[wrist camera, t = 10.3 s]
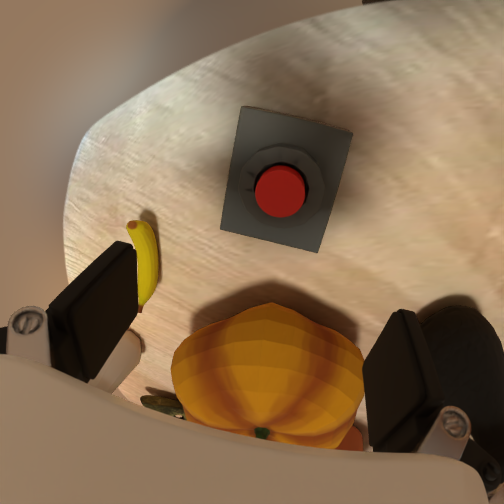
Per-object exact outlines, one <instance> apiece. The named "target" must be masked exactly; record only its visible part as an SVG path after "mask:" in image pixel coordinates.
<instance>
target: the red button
mask: <svg viewBox="0 0 504 504" xmlns="http://www.w3.org/2000/svg"><path fill="white" fill-rule="evenodd" d="M255 197H256V201H257V203H258V205H259V206H260V208H261V209H262V210H263V211H264V212H266V213H267V214H269V215H271V216H274V217H288V216H291V215H293V214H294V213H296V212H297V211H298V210H299V209H300V208H301V206H302V205H303V202H304V199H305V184H304V181H303V178H302V177H301V175H300V174H299V173H298V172H297V171H296V170H295V169H293V168H291V167H288V166H284V165H278V166H273V167H271V168H269V169H267V170H266V171H265V172H264V173H263V174H262V176H261V177H260V179H259V181H258V183H257V185H256V189H255Z"/></svg>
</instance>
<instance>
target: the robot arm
mask: <svg viewBox="0 0 504 504" xmlns="http://www.w3.org/2000/svg"><path fill="white" fill-rule="evenodd" d="M138 309H139V305H138V284H137V252H136V250H135V249H133V246H132V245H131V244H129V243H125V242H121V241H116V242H114V243H113V244H112V245H111V246H110V247H109V248H108V249H106V250H105V251H104V252H103V253H102V254H101V255H100V256H99V257H98V258H97V259H96V260H94V261H93V262H92V263H91V264H90V265H89V266H88V267H87V268H86V269H85V270H84V271H83V272H82V273H81V274H80V275H79V276H77V277H76V278H75V279H74V280H73V281H72V282H71V283H70V284H69V285H68V286H67V287H66V288H65V289H64V290H63V291H62V292H61V293H60V294H59V295H58V296H57V297H56V299H54V301H52V302H51V303H50V304H49V308H48V309H47V310H46V311H44V310H43V309H41V308H40V307H36V306H26V307H23V308H21V309H19V310H17V311H16V312H14V313H13V314H12V316H11V317H10V319H9V322H8V326H7V327H3V328H0V504H504V482H503V483H502V484H500V482H501V478H502V471H501V467H500V465H499V463H498V462H497V461H496V460H495V459H494V458H493V457H492V456H491V455H490V454H488V453H487V452H486V451H485V450H484V449H483V448H481V447H480V446H479V445H478V444H477V443H476V442H474V441H473V440H472V439H471V438H470V434H471V423H470V420H469V418H468V416H467V415H466V413H465V412H463V411H462V410H461V409H459V408H458V407H455V406H447V407H445V408H444V404H443V402H444V401H445V397H444V394H443V390H442V387H441V384H440V381H439V377H438V374H437V371H436V368H435V365H434V362H433V359H432V356H431V354H430V351H429V348H428V345H427V342H426V340H425V337H424V334H423V332H422V329H421V327H420V324H419V321H418V319H417V316H416V314H415V312H413V311H409V310H404V309H399V310H398V311H397V312H393V313H392V315H391V316H390V318H389V320H388V322H387V324H386V325H385V327H384V329H383V331H382V332H381V334H380V336H379V338H378V339H377V341H376V343H375V344H374V346H373V348H372V349H371V351H370V353H369V354H368V356H367V357H366V359H365V361H364V363H363V366H362V374H363V383H364V391H365V401H366V411H367V422H368V434H369V444H370V446H372V447H373V452H364V451H347V450H335V449H325V448H316V447H308V446H300V445H293V444H287V443H281V442H275V441H269V440H264V439H259V438H254V437H249V436H244V435H239V434H235V433H231V432H227V431H222V430H218V429H215V428H211V427H207V426H203V425H200V424H196V423H193V422H189V421H186V420H183V419H179V418H176V417H173V416H170V415H167V414H164V413H161V412H158V411H155V410H152V409H149V408H146V407H144V406H141V405H138V404H135V403H133V402H130V401H128V400H125V399H123V398H120V397H118V396H115V395H112V394H110V393H108V392H106V391H103V390H101V389H98V388H96V387H94V386H91V385H89V384H88V382H89V381H90V379H92V380H93V379H95V378H96V377H97V375H98V373H99V372H100V370H101V369H102V367H103V366H104V364H105V362H106V361H107V359H108V358H109V356H110V355H111V353H112V352H113V350H114V349H115V347H116V346H117V344H118V343H119V341H120V340H121V338H122V337H123V335H124V334H125V332H126V331H127V329H128V328H129V326H130V325H131V323H132V322H133V320H134V319H135V317H136V316H137V313H138Z"/></svg>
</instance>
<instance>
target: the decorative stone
mask: <svg viewBox="0 0 504 504" xmlns="http://www.w3.org/2000/svg"><path fill="white" fill-rule="evenodd" d="M140 400H141V403H142V404H143V406H144V407H146V408H149V409H152V410H155V411H158V412H161V413H164V414H167V415H170V416H173V417H176V416H175V415H182V417H180V418H179V419H183V420H186V421H187V419H186V416H185V412H184V409H183V405H182V404H181V402H180V401H176V400H172V399H169V398H164V397H159V396H152V395H145V396H142V397H141V398H140ZM176 418H178V417H176Z"/></svg>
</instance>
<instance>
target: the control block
mask: <svg viewBox="0 0 504 504" xmlns="http://www.w3.org/2000/svg"><path fill="white" fill-rule="evenodd" d="M352 136H353V133H352V132H350V131H349V130H346V129H342V128H339V127H335V126H332V125H328V124H325V123H321V122H317V121H313V120H309V119H305V118H301V117H297V116H293V115H288V114H284V113H279V112H275V111H270V110H265V109H260V108H255V107H249V106H242V107H241V110H240V115H239V121H238V126H237V131H236V137H235V142H234V148H233V153H232V159H231V165H230V170H229V176H228V182H227V188H226V194H225V200H224V206H223V212H222V219H221V225H220V230H224V231H229V232H233V233H237V234H241V235H245V236H249V237H254V238H258V239H262V240H266V241H270V242H274V243H278V244H282V245H286V246H290V247H294V248H298V249H303V250H307V251H311V252H315V253H318V251H319V248H320V245H321V242H322V238H323V235H324V232H325V229H326V226H327V223H328V220H329V216H330V213H331V210H332V207H333V203H334V200H335V197H336V193H337V190H338V187H339V183H340V180H341V176H342V173H343V169H344V166H345V162H346V158H347V155H348V151H349V147H350V144H351V140H352ZM278 165H284V166H288V167H291V168H293V169H295V170H296V171H297V172H298V173H299V174H300V175H301V177H302V178H303V181H304V184H305V199H304V202H303V205H302V206H301V208H300V209H299V210H298V211H297V212H296V213H294V214H293V215H291V216H288V217H274V216H271V215H269V214H267V213H266V212H264V211H263V210H262V209H261V208H260V206H259V205H258V203H257V201H256V197H255V189H256V185H257V183H258V181H259V179H260V177H261V176H262V174H263V173H264V172H265V171H266V170H267V169H269V168H271V167H273V166H278Z"/></svg>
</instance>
